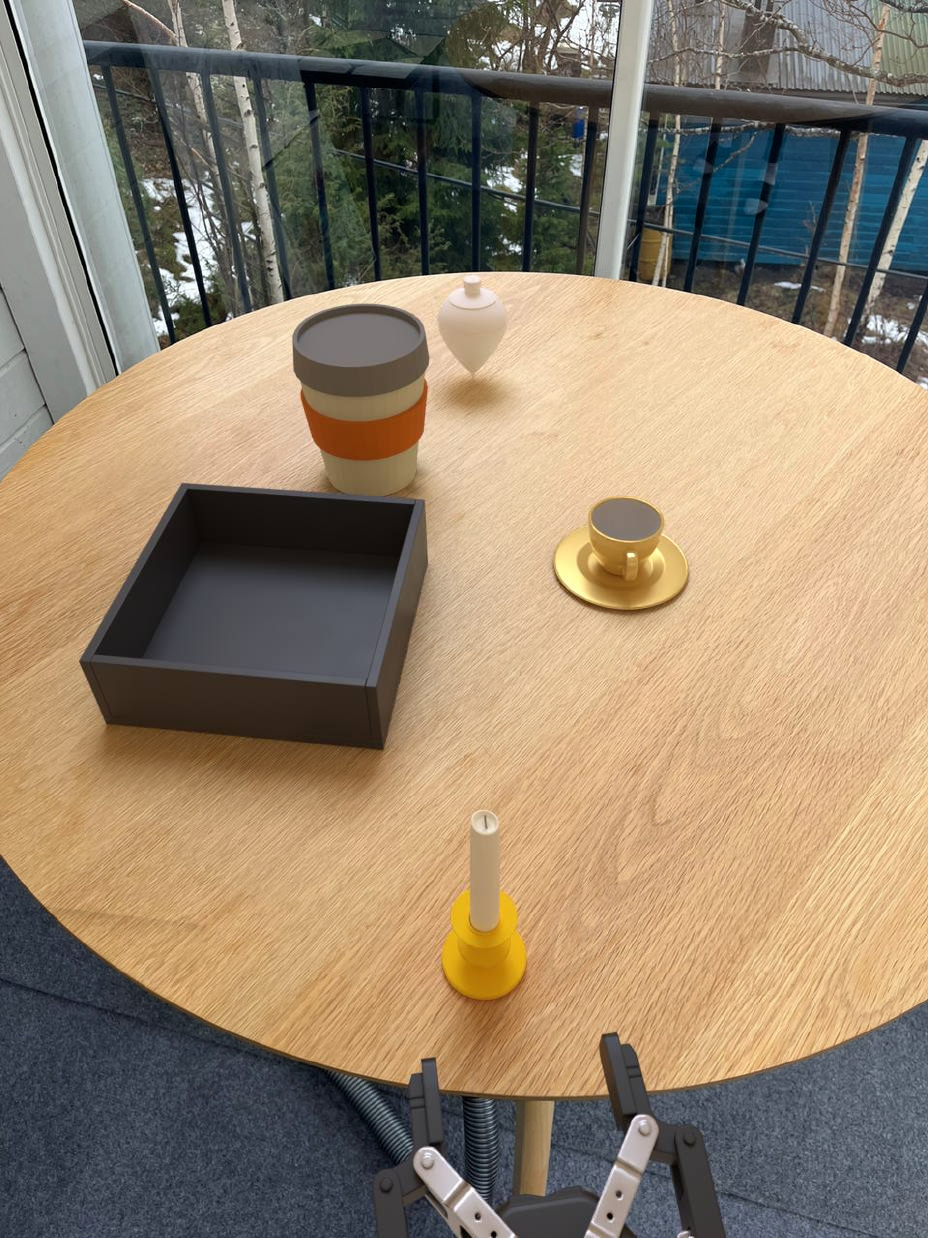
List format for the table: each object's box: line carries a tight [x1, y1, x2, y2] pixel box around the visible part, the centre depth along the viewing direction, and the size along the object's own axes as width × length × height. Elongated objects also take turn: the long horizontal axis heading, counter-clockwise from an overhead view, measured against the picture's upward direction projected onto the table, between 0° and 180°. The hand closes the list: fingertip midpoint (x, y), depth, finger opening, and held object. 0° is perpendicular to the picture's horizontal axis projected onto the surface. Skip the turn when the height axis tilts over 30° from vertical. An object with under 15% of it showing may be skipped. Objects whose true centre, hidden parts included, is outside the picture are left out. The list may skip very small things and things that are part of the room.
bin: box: [78, 482, 429, 751], centre depth 76 cm, size 22×22×7 cm
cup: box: [552, 495, 690, 611], centre depth 82 cm, size 12×12×5 cm
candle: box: [441, 809, 528, 1001], centre depth 52 cm, size 5×5×16 cm
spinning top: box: [437, 275, 509, 381], centre depth 104 cm, size 8×8×12 cm
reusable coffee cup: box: [291, 303, 430, 497], centre depth 90 cm, size 12×13×15 cm
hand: (518, 1051), depth 44 cm, fingers open, 8 cm apart
